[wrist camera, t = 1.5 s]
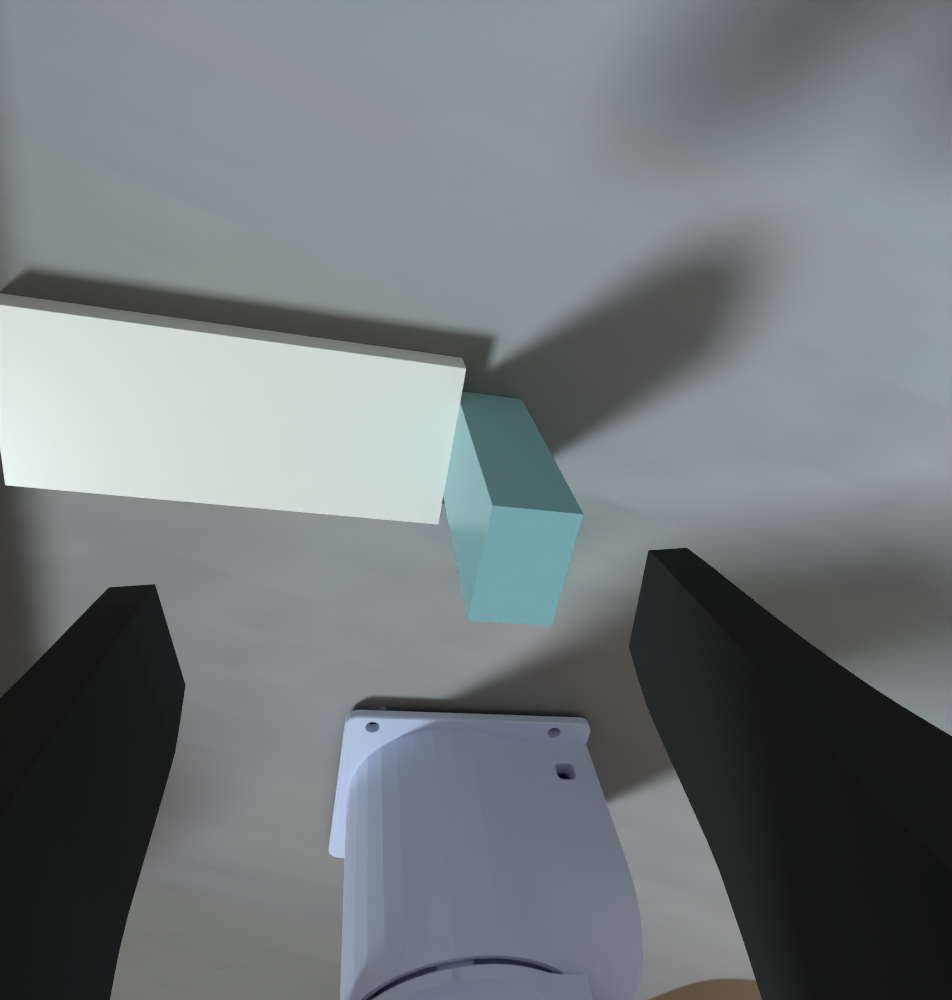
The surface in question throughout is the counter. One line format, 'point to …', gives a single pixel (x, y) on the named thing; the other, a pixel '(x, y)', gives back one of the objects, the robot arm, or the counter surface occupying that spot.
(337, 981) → the counter surface
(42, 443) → the scraper
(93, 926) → the robot arm
